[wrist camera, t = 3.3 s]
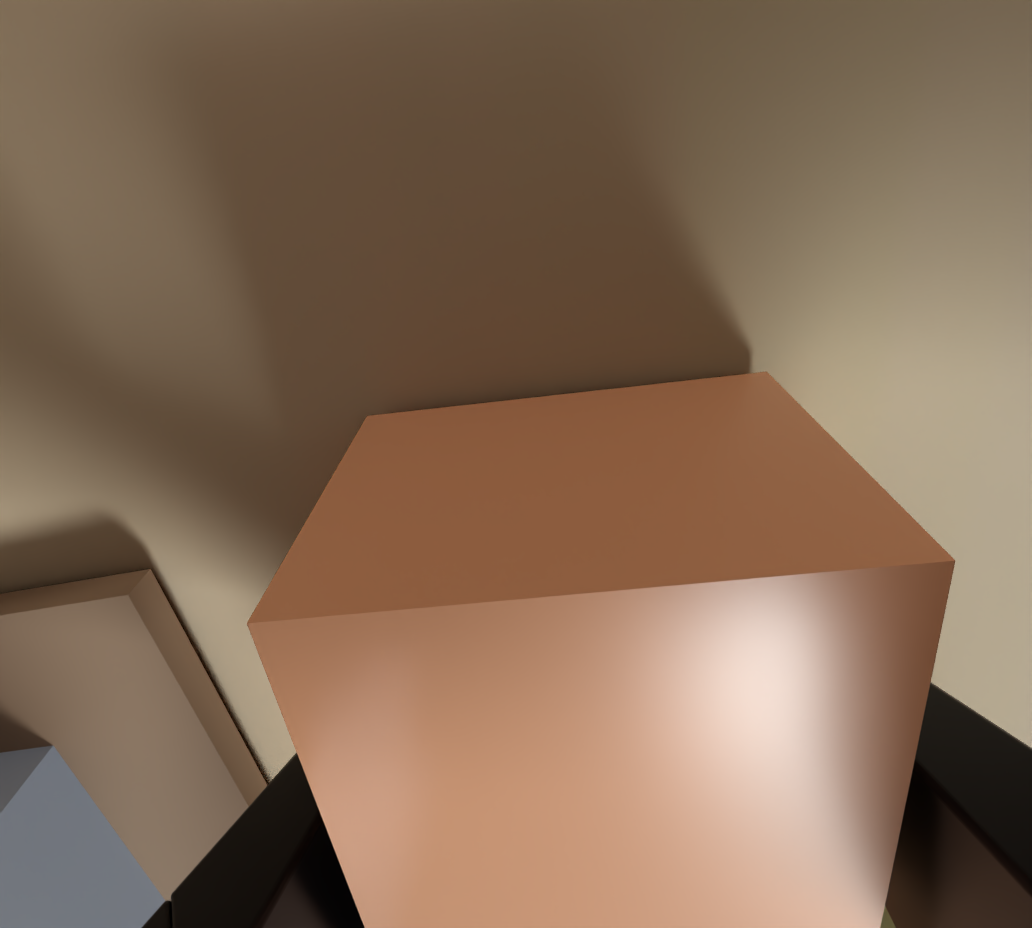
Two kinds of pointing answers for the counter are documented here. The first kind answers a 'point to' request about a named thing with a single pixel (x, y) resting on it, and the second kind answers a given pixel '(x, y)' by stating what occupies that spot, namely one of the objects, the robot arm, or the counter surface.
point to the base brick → (63, 852)
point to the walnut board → (126, 715)
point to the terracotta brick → (608, 663)
